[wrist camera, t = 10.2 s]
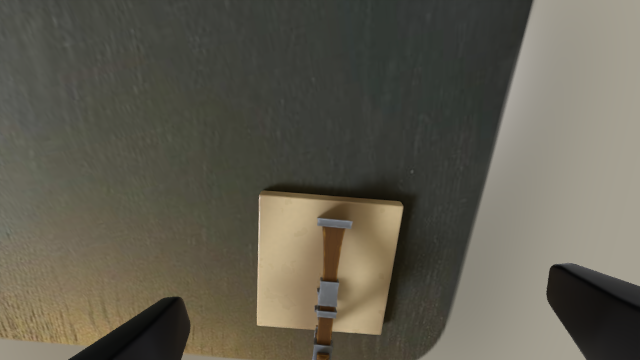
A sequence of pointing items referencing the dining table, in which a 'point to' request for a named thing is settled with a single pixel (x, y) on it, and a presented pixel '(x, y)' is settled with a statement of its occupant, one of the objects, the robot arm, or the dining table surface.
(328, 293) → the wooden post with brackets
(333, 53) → the dining table surface
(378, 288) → the birch pad
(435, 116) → the dining table surface
